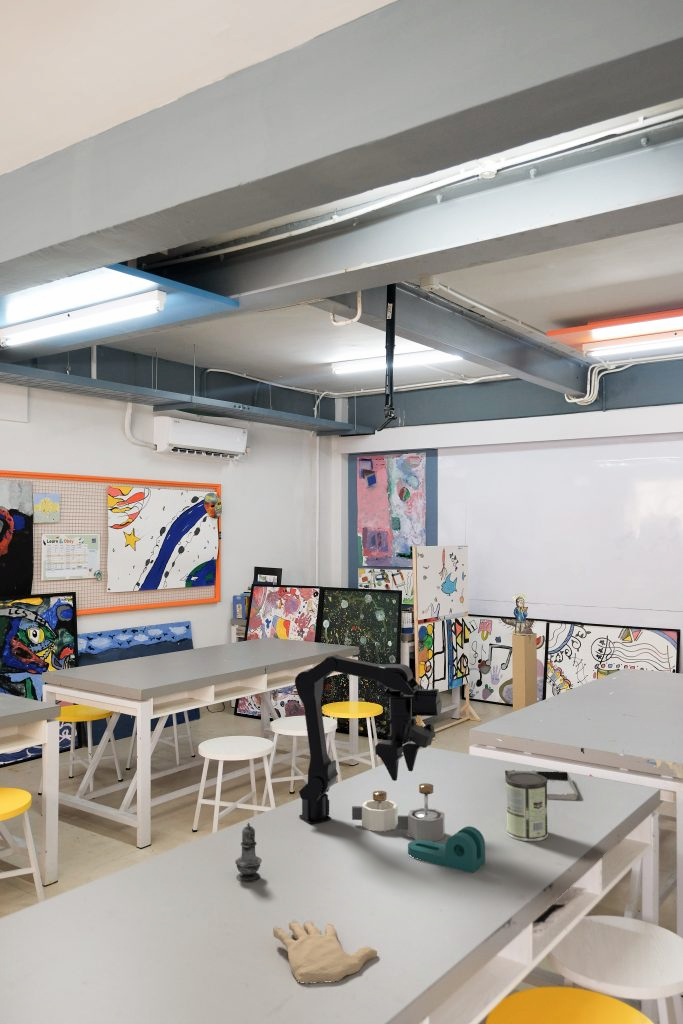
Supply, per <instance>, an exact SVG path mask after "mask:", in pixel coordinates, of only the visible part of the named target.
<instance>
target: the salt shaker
mask: <svg viewBox="0 0 683 1024" xmlns="http://www.w3.org/2000/svg"><path fill="white" fill-rule="evenodd" d="M250 825H251V824H250V823H249V822H248V823H247V824H246V826H245V827H243V828H242V831H241V833H242V834H241V835H242V836H241V842H240V846H241V855H240V857H238V858H236V859H235V861H234V863H235V864H236V868H237V870H238V872H239V873H237V875H236V880H237V881H239V882H243V883H252V882H257V881H258V880H260V879H261V874H260V873H259V872H258V871H259V869H260V867H261V863H262V861H263V860H262V858H261V857H259V856H257V854H256V845H257V841H256V831H255V828H254V827H252V826H250Z"/></svg>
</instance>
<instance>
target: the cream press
mask: <svg viewBox="0 0 683 1024" xmlns="http://www.w3.org/2000/svg"><path fill="white" fill-rule="evenodd" d="M398 808H399V807H398V803H396V802H394V801H392V800H390V799H387V800H385V801H381V810H378V801H375V800H373V799H370V800H364V802H363V804H361V805H359V806H356V805H355V806H354V805H353V806H351V820H352V821H354V820H355V821H361V827H363V828H364V829H366V830H368V831H370V830H372V831H373V832H382V831H384V832H388V831H392V830H391V829H393V830H395V829H396V828H397V827H398V824H397V823H398V811H399V809H398ZM394 828H395V829H394ZM387 830H388V831H387ZM372 831H371V832H372Z"/></svg>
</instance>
